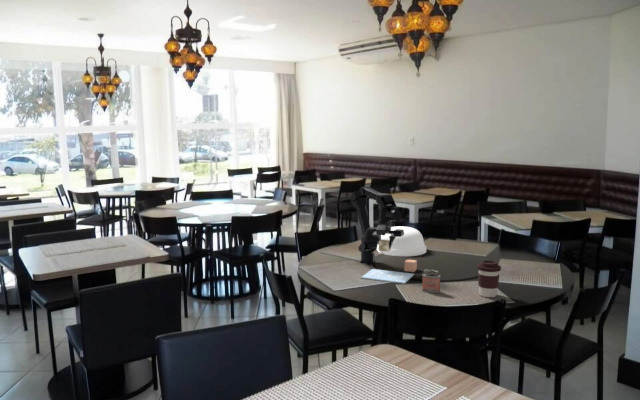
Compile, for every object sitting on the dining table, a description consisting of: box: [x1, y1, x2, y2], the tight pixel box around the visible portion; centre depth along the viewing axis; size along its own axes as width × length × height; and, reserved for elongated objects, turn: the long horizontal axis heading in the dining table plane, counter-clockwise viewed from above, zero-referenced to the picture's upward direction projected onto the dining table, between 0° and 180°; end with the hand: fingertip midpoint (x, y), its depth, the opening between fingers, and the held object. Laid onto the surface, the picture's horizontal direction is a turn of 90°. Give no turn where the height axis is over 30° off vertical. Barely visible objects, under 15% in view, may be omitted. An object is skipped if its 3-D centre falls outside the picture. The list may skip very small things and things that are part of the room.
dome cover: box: [376, 225, 427, 257], centre depth 312 cm, size 32×30×14 cm
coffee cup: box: [476, 259, 502, 298], centre depth 229 cm, size 10×10×15 cm
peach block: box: [404, 259, 418, 273], centre depth 270 cm, size 5×5×5 cm
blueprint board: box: [360, 268, 415, 285], centre depth 259 cm, size 22×16×1 cm
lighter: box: [421, 269, 442, 294], centre depth 235 cm, size 8×3×10 cm, turn 71°
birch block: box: [379, 239, 391, 251], centre depth 271 cm, size 5×5×5 cm
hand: (384, 248), depth 271 cm, fingers closed on birch block, 5 cm apart
